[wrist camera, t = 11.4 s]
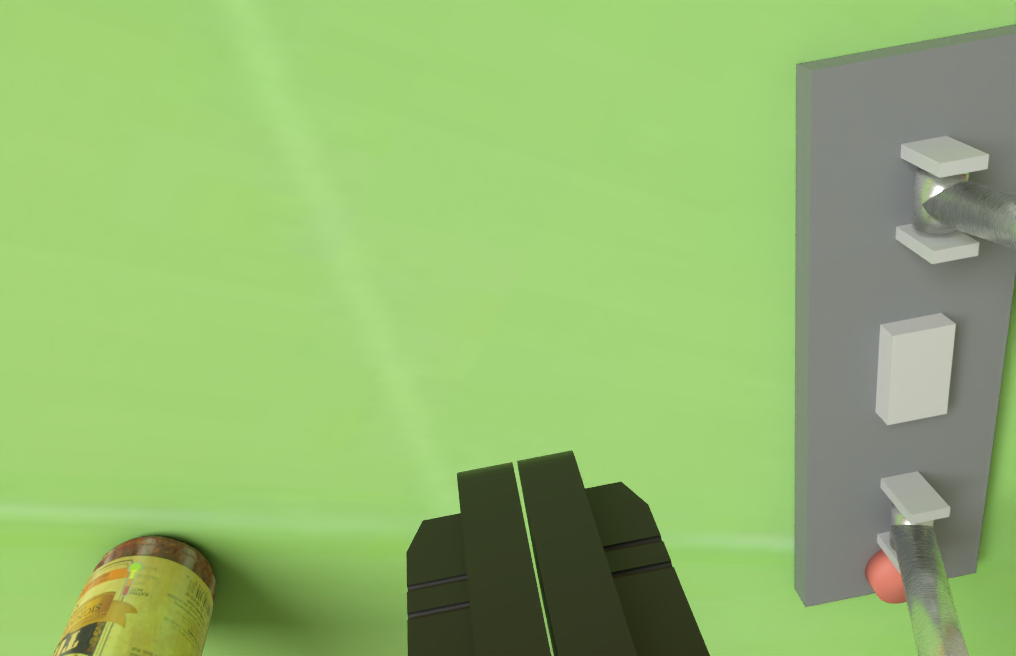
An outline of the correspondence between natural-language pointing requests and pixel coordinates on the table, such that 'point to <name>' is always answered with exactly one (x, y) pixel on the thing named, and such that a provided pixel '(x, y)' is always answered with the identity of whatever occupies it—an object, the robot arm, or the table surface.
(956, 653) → the silver metal rod
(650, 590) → the robot arm
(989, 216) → the metal lever
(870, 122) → the switch panel
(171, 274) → the table surface
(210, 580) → the sauce bottle
